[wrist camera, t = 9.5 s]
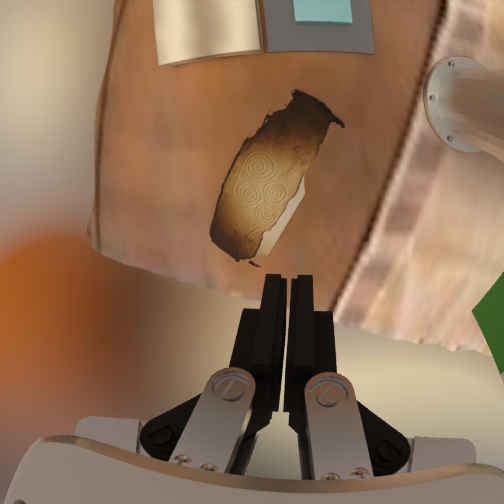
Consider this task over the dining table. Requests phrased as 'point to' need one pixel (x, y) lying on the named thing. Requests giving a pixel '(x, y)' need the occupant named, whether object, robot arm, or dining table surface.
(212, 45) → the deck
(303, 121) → the parchment
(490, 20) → the dining table surface
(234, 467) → the robot arm
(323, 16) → the tile
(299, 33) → the mat
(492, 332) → the hardback book
